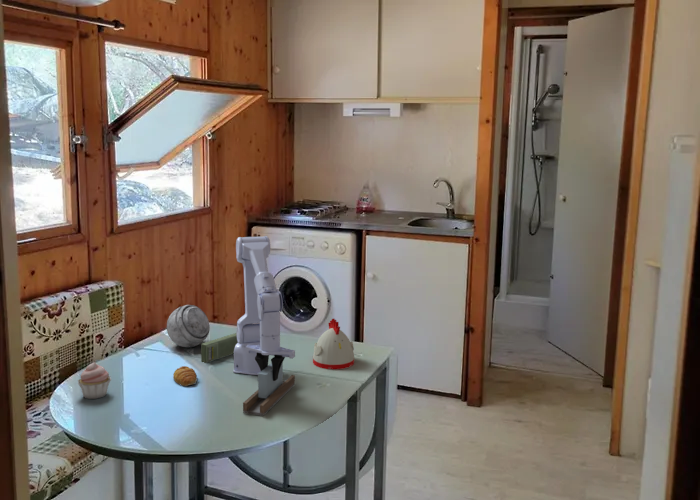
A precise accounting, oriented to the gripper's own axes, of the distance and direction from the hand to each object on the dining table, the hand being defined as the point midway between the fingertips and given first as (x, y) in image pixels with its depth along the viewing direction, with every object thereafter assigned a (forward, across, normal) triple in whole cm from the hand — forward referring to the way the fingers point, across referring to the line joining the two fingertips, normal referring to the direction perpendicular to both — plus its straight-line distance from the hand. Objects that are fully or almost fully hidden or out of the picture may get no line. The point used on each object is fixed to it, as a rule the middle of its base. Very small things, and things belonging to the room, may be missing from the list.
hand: (270, 379), depth 197 cm
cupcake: (+6, -49, -14) cm, 51 cm away
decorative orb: (+6, -46, +34) cm, 58 cm away
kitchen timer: (+6, +8, +35) cm, 36 cm away
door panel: (+3, 0, 0) cm, 4 cm away
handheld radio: (+6, -28, +32) cm, 44 cm away
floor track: (+6, 0, 0) cm, 6 cm away
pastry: (+6, -30, +5) cm, 31 cm away
